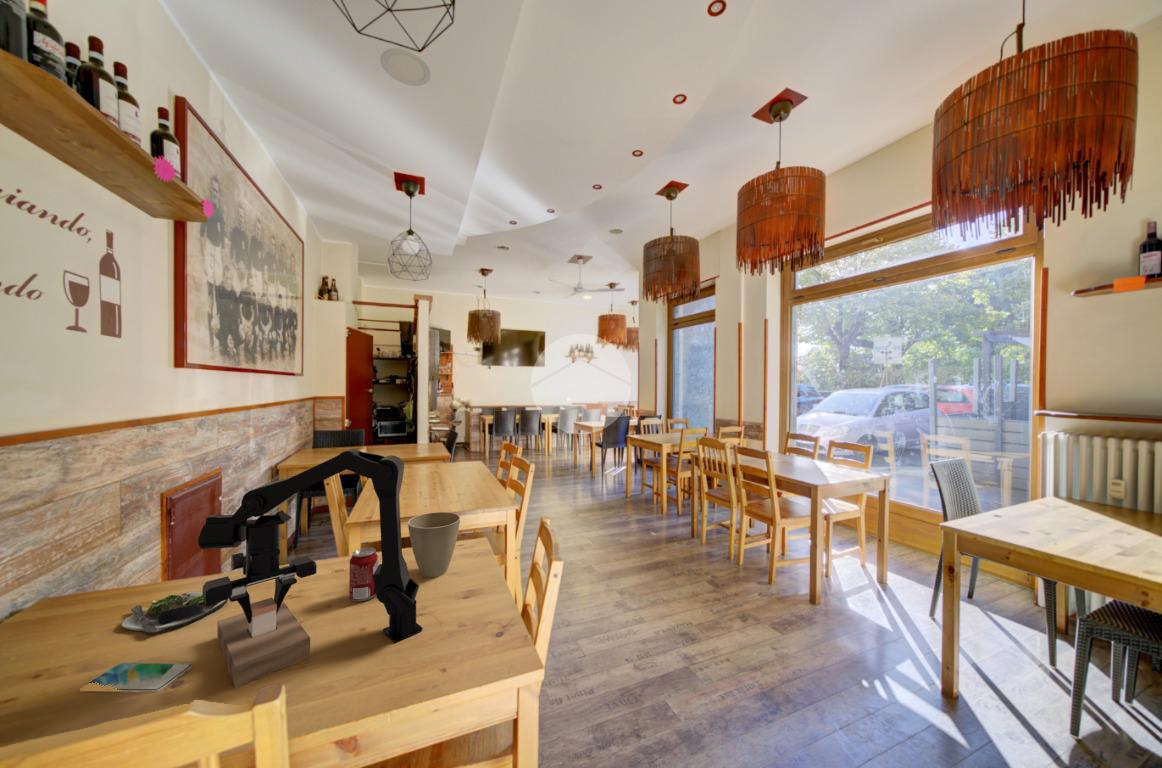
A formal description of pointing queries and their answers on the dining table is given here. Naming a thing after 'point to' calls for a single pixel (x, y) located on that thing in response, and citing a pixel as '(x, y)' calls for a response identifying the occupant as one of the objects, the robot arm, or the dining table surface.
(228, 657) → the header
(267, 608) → the plug
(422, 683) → the dining table surface
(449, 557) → the plant pot
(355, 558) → the soda can
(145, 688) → the smartphone
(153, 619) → the salad plate
